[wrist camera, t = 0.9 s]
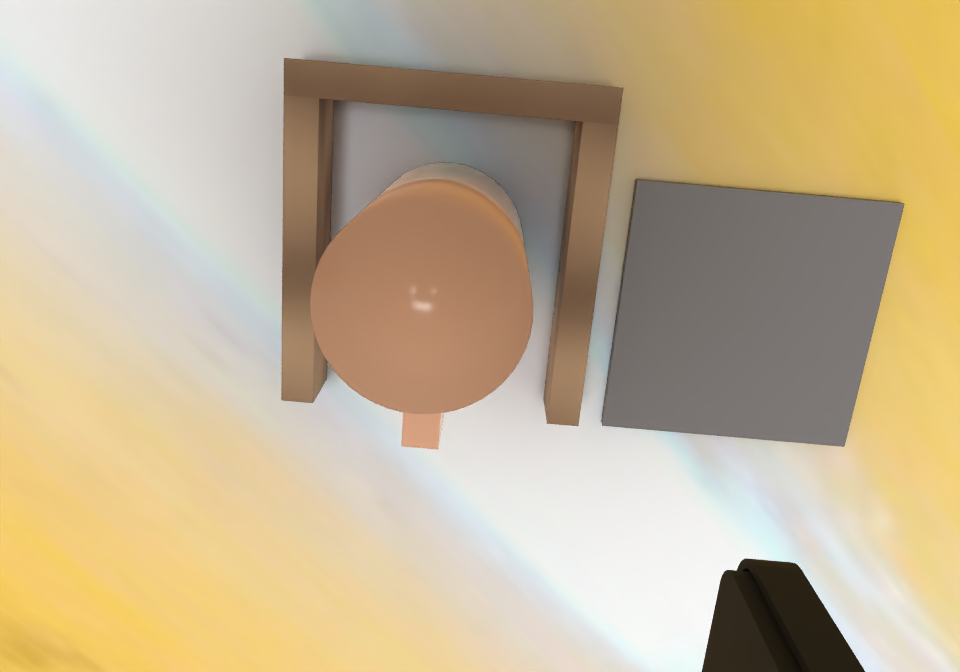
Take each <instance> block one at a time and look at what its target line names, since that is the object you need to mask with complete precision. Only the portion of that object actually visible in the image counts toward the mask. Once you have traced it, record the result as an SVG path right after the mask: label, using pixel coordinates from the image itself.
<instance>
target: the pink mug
mask: <svg viewBox="0 0 960 672" xmlns="http://www.w3.org/2000/svg"><path fill="white" fill-rule="evenodd" d="M310 309H311V319H312V325H313V330H314V333H315V336H316V339H317V342H318V344H319V347H320V349H321V351H322V353H323V355H324V357H325V358H326V360H327V361H328V363H329V364H330V366H331V367H332V369H333V370H334V371H335V372H336V373H337V375H338V376H339V377H340V378H341V379H342V380H343V381H344V382H345V383H346V384H347V385H348V386H349V387H350V388H352V389H353V390H355V391H356V392H357V393H359V394H360V395H361V396H363V397H365V398H367V399H368V400H370V401H372V402H374V403H376V404H379V405H381V406H383V407H386V408H389V409H392V410H396V411H400V412H403V429H402V446H405V447H417V448H428V449H438V447H439V441H440V435H441V429H442V423H443V418H444V413H445V412H449V411H454V410H458V409H460V408H463V407H466V406H469V405H471V404H473V403H475V402H477V401H479V400H481V399H483V398H484V397H485V396H487V395H488V394H490V393H491V392H493V391H494V390H495V389H496V388H497V387H499V386H500V385H501V384H502V383H503V382H504V381H505V380H506V379H507V377H508V376H509V375H510V374H511V373H512V372H513V370H514V369H515V367H516V366H517V364H518V363H519V361H520V359H521V357H522V355H523V353H524V351H525V349H526V346H527V343H528V340H529V337H530V333H531V327H532V322H533V300H532V291H531V284H530V278H529V271H528V265H527V258H526V252H525V245H524V239H523V232H522V226H521V222H520V218H519V215H518V213H517V210H516V208H515V206H514V204H513V202H512V200H511V199H510V197H509V196H508V194H507V193H506V192H505V191H504V189H503V188H502V187H501V186H500V185H499V184H498V183H497V182H495V181H494V180H493V179H492V178H490V177H489V176H487V175H486V174H484V173H483V172H481V171H479V170H476V169H474V168H472V167H469V166H465V165H462V164H456V163H433V164H428V165H424V166H420V167H418V168H415V169H413V170H410V171H409V172H407V173H405V174H403V175H402V176H400V177H399V178H398V179H397V180H395V181H394V182H393V183H392V184H391V185H390V186H389V187H387V188H386V189H385V190H384V191H383V192H382V193H381V194H380V195H379V196H378V197H377V198H375V199H374V200H373V201H372V202H371V203H370V204H369V205H368V206H367V207H366V208H365V209H363V210H362V211H361V212H360V213H359V214H358V215H357V216H356V217H355V218H354V219H353V220H351V221H350V222H349V223H348V224H347V225H346V226H345V227H344V228H343V229H342V230H341V231H340V232H339V233H338V234H337V235H336V236H335V237H334V239H333V240H332V241H331V243H330V244H329V245H328V247H327V248H326V250H325V252H324V253H323V255H322V257H321V259H320V261H319V263H318V266H317V269H316V271H315V274H314V278H313V283H312V287H311V298H310Z"/></svg>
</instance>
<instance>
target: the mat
mask: <svg viewBox="0 0 960 672" xmlns="http://www.w3.org/2000/svg"><path fill="white" fill-rule="evenodd" d="M903 208H904V204H903V203H900V202H890V201H879V200H867V199H856V198H844V197H833V196H822V195H810V194H799V193H788V192H776V191H765V190H754V189H742V188H731V187H720V186H708V185H697V184H685V183H674V182H663V181H651V180H640V179H636V182H635V189H634V196H633V203H632V210H631V217H630V224H629V231H628V238H627V245H626V252H625V259H624V266H623V273H622V280H621V287H620V294H619V301H618V308H617V315H616V322H615V329H614V336H613V343H612V350H611V357H610V364H609V371H608V378H607V385H606V392H605V399H604V406H603V413H602V420H601V422H602V426H613V427H624V428H636V429H647V430H659V431H670V432H682V433H693V434H705V435H716V436H728V437H739V438H751V439H762V440H774V441H785V442H797V443H808V444H819V445H831V446H842V447H844V446H845V442H846V438H847V434H848V430H849V426H850V422H851V418H852V414H853V410H854V406H855V402H856V398H857V394H858V390H859V386H860V382H861V378H862V373H863V369H864V365H865V361H866V357H867V353H868V349H869V345H870V341H871V337H872V333H873V329H874V325H875V321H876V317H877V313H878V309H879V305H880V301H881V297H882V293H883V289H884V285H885V281H886V277H887V273H888V268H889V264H890V260H891V256H892V252H893V248H894V244H895V240H896V236H897V232H898V228H899V224H900V220H901V216H902V212H903Z"/></svg>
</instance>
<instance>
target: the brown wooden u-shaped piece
mask: <svg viewBox="0 0 960 672" xmlns="http://www.w3.org/2000/svg"><path fill="white" fill-rule="evenodd" d="M622 94H623V88H619V87H607V86H596V85H585V84H573V83H562V82H551V81H539V80H528V79H517V78H505V77H494V76H483V75H471V74H460V73H449V72H438V71H426V70H415V69H404V68H392V67H381V66H370V65H358V64H347V63H336V62H324V61H313V60H302V59H290V58H284V139H283V267H282V396H281V400H284V401H296V402H307V403H313V402H314V400H315V398H316V397H317V395H318V393H319V391H320V390H321V388H322V386H323V385H324V383H325V381H326V376H327V360H326V358H325V357H324V355H323V353H322V351H321V349H320V347H319V344H318V342H317V339H316V336H315V333H314V330H313V325H312V319H311V309H310V298H311V287H312V283H313V278H314V274H315V271H316V269H317V266H318V263H319V261H320V259H321V257H322V255H323V253H324V252H325V250H326V248H327V247H328V245H329V244H330V224H331V186H332V148H333V110H334V100H343V101H354V102H366V103H377V104H388V105H400V106H411V107H422V108H434V109H445V110H456V111H468V112H479V113H490V114H502V115H513V116H524V117H536V118H547V119H558V120H570V121H576V126H575V135H574V143H573V152H572V160H571V169H570V178H569V186H568V195H567V203H566V212H565V220H564V229H563V237H562V246H561V254H560V263H559V271H558V280H557V288H556V297H555V306H554V314H553V323H552V331H551V340H550V348H549V357H548V365H547V374H546V382H545V391H544V405H545V412H546V420H547V423H548V424H559V425H571V426H578V424H579V417H580V409H581V402H582V394H583V387H584V379H585V372H586V364H587V357H588V349H589V342H590V334H591V327H592V319H593V312H594V304H595V297H596V289H597V282H598V274H599V267H600V259H601V252H602V244H603V236H604V229H605V221H606V214H607V206H608V199H609V191H610V184H611V176H612V169H613V161H614V154H615V146H616V139H617V131H618V124H619V116H620V109H621V101H622Z"/></svg>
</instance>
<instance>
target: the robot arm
mask: <svg viewBox="0 0 960 672" xmlns="http://www.w3.org/2000/svg"><path fill="white" fill-rule="evenodd" d="M702 672H865V671H864V669H863V667H862V666H861V664H860V663H859V661H858V659H857V658H856V656H855V655H854V653H853V651H852V650H851V648H850V647H849V645H848V643H847V642H846V640H845V639H844V637H843V635H842V634H841V632H840V631H839V629H838V627H837V626H836V624H835V623H834V621H833V619H832V618H831V616H830V615H829V613H828V611H827V610H826V608H825V607H824V605H823V603H822V602H821V600H820V599H819V597H818V595H817V594H816V592H815V591H814V589H813V587H812V586H811V584H810V583H809V581H808V579H807V578H806V576H805V575H804V573H803V572H802V570H801V569H800V567H799V566H798V565H797V564H795V563H791V562H779V561H768V560H756V559H744V560H742V561H741V563H740V564H739V566H738V569H737V571H734V570H726V571H725V572H724V573H723V575H722V578H721V581H720V586H719V591H718V596H717V601H716V605H715V610H714V615H713V620H712V625H711V630H710V635H709V639H708V644H707V649H706V654H705V659H704V664H703V669H702Z"/></svg>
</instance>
